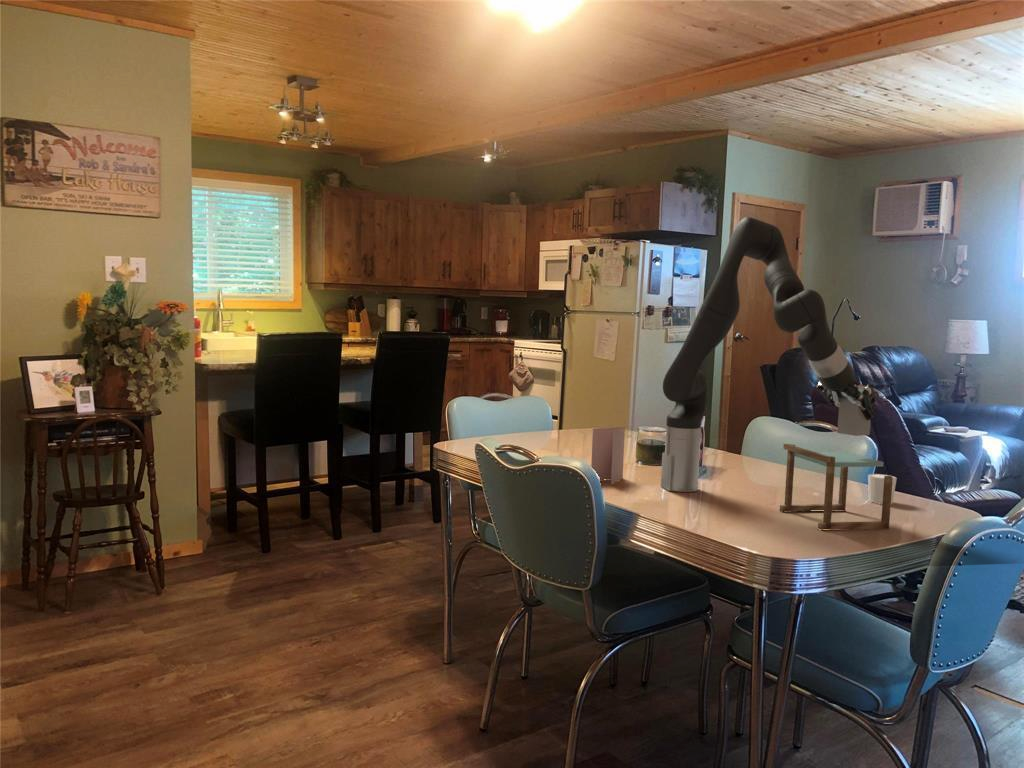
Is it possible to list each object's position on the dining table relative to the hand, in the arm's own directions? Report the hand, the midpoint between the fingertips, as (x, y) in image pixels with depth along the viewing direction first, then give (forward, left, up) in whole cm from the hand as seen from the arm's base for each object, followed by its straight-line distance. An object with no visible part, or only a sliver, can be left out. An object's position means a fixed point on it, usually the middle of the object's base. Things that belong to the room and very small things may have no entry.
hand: (859, 415), depth 182 cm
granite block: (-2, -1, -4) cm, 5 cm away
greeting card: (-46, +43, -25) cm, 68 cm away
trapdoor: (-6, -1, -11) cm, 12 cm away
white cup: (+18, +15, -25) cm, 35 cm away
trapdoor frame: (-6, -1, -25) cm, 25 cm away
